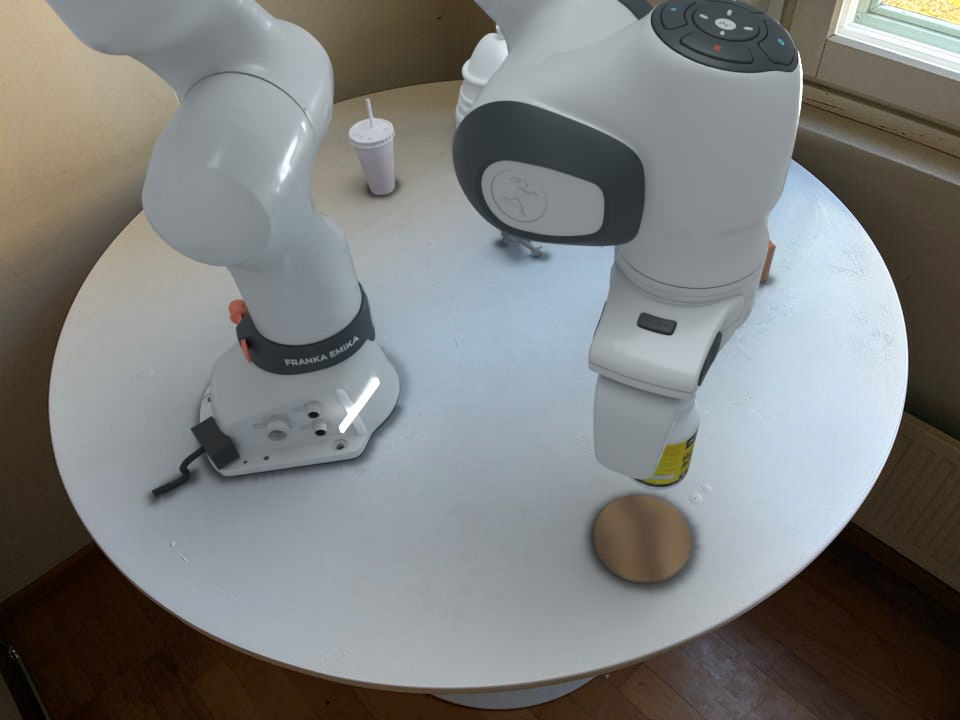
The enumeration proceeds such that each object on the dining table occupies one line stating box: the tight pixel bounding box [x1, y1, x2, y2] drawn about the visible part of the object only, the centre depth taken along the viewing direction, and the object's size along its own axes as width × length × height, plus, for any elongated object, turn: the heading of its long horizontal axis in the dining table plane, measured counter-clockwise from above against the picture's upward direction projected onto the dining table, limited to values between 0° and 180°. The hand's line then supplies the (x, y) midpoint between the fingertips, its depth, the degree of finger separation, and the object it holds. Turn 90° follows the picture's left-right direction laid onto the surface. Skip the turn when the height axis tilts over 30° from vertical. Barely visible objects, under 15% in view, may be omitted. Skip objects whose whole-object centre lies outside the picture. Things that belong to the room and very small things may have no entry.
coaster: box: [593, 494, 692, 584], centre depth 72 cm, size 9×9×1 cm
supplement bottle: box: [629, 394, 701, 491], centre depth 60 cm, size 5×5×10 cm
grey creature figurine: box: [498, 231, 545, 258], centre depth 101 cm, size 10×6×9 cm
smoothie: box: [348, 97, 396, 196], centre depth 108 cm, size 6×6×14 cm
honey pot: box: [454, 24, 508, 130], centre depth 113 cm, size 13×13×18 cm
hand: (662, 411), depth 58 cm, fingers closed on supplement bottle, 5 cm apart
